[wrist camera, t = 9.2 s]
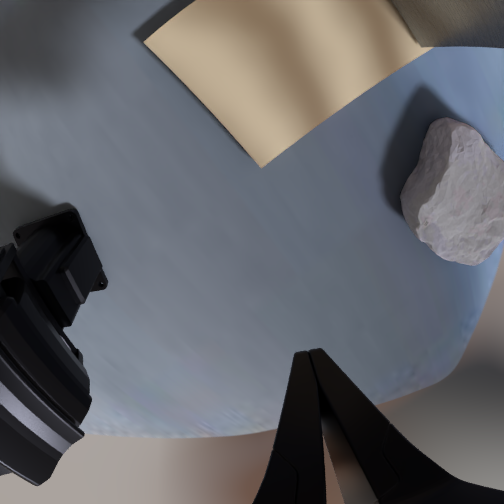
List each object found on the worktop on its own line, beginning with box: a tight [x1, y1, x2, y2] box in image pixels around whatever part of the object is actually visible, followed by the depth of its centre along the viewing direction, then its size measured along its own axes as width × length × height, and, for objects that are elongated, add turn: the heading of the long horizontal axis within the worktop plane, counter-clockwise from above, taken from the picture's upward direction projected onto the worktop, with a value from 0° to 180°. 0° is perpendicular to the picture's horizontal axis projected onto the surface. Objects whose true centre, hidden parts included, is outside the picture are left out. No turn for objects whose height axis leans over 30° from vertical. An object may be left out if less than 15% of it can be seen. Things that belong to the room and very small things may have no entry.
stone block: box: [400, 117, 504, 266], centre depth 19 cm, size 12×5×10 cm
